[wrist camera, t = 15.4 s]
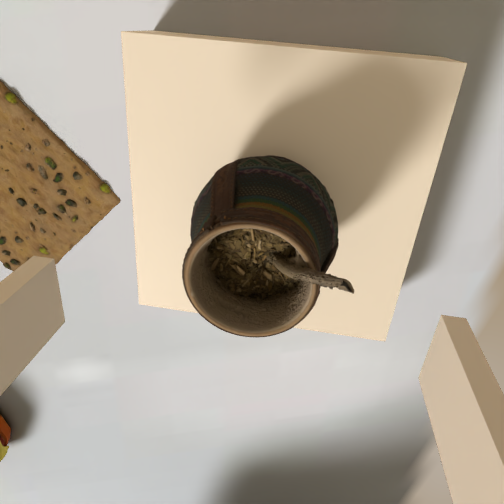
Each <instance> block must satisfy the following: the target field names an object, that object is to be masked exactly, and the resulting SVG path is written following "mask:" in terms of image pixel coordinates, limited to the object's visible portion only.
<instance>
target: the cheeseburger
mask: <svg viewBox="0 0 504 504" xmlns="http://www.w3.org/2000/svg"><path fill="white" fill-rule="evenodd" d="M10 433H11V428H10V427H9V426H8V424H7V423H6V422H5V420H4V419H3V417H2V416H1V415H0V461H1V460H2V459H3V458H4V456H5V455H6V453H7V450H8V448H9V446H7V444H8V441H9V439H10Z"/></svg>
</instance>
